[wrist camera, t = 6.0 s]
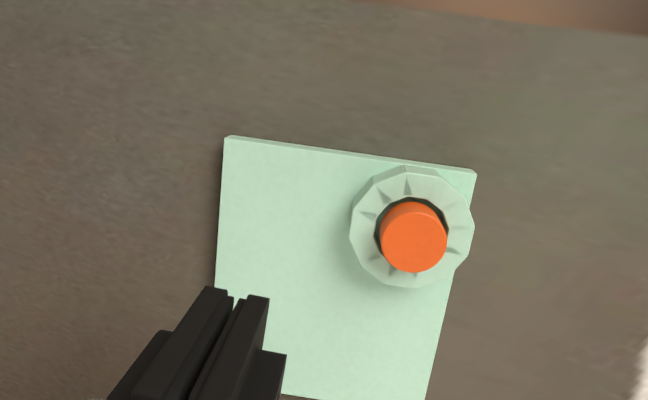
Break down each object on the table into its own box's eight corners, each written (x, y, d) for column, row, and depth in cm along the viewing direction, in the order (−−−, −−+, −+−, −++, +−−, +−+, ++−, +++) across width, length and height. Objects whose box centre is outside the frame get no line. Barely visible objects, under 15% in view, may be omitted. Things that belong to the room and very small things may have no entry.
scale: (230, 134, 24) (212, 143, 21) (471, 169, 24) (487, 182, 21) (214, 369, 28) (197, 402, 26) (418, 402, 28) (424, 440, 25)
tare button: (384, 196, 22) (386, 207, 20) (446, 206, 22) (453, 217, 20) (374, 253, 23) (376, 268, 21) (434, 262, 22) (440, 278, 21)
